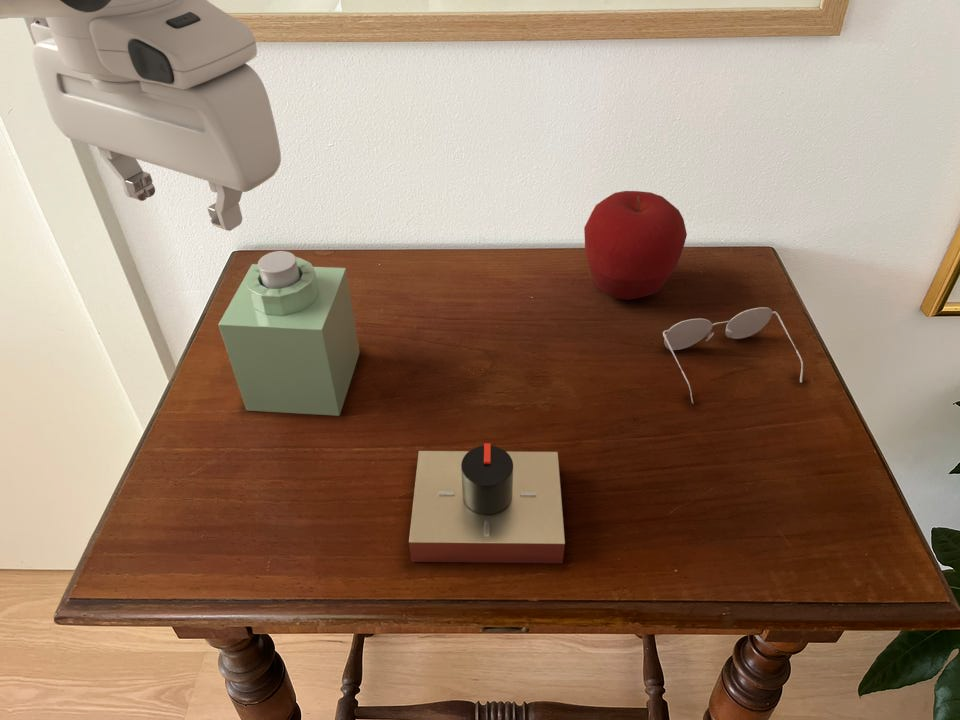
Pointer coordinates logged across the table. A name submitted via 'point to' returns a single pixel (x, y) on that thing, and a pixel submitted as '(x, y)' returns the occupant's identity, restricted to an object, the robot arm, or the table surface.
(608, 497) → the table surface
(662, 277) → the apple
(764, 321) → the sunglasses
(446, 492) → the panel
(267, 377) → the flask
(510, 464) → the knob
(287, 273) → the grey cylindrical peg
